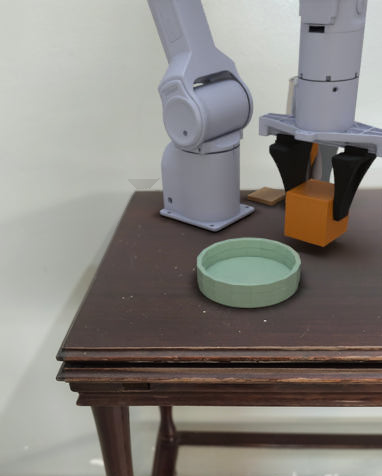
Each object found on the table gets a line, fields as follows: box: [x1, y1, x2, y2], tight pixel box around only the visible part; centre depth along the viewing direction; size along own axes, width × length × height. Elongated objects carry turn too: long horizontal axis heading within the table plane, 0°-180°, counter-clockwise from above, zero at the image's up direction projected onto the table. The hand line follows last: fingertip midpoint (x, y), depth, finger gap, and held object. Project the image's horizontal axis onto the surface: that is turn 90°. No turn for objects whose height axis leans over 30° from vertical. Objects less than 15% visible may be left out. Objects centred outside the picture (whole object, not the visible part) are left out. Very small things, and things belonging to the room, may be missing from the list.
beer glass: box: [284, 75, 340, 206], centre depth 70 cm, size 7×7×15 cm
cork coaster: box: [246, 186, 286, 207], centre depth 76 cm, size 4×4×1 cm
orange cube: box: [283, 179, 350, 248], centre depth 62 cm, size 5×5×5 cm
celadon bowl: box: [196, 237, 302, 309], centre depth 58 cm, size 10×10×2 cm
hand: (317, 211), depth 62 cm, fingers closed on orange cube, 5 cm apart
